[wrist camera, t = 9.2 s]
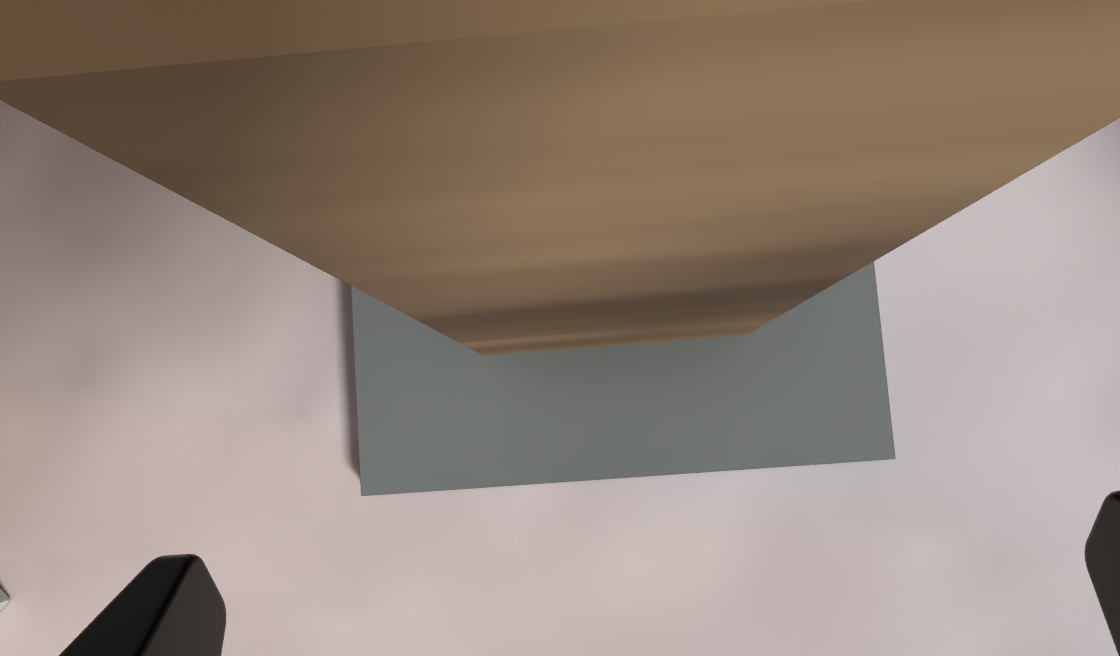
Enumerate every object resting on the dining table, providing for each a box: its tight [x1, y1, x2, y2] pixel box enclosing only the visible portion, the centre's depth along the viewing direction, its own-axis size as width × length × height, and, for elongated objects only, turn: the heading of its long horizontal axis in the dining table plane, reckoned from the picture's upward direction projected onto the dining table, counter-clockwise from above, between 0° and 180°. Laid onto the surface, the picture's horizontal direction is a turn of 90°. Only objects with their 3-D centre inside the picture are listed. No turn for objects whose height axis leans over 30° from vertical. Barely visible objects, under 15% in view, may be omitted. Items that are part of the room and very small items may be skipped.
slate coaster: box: [351, 261, 895, 496], centre depth 18 cm, size 10×10×1 cm
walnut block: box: [0, 0, 1120, 356], centre depth 10 cm, size 5×5×14 cm
